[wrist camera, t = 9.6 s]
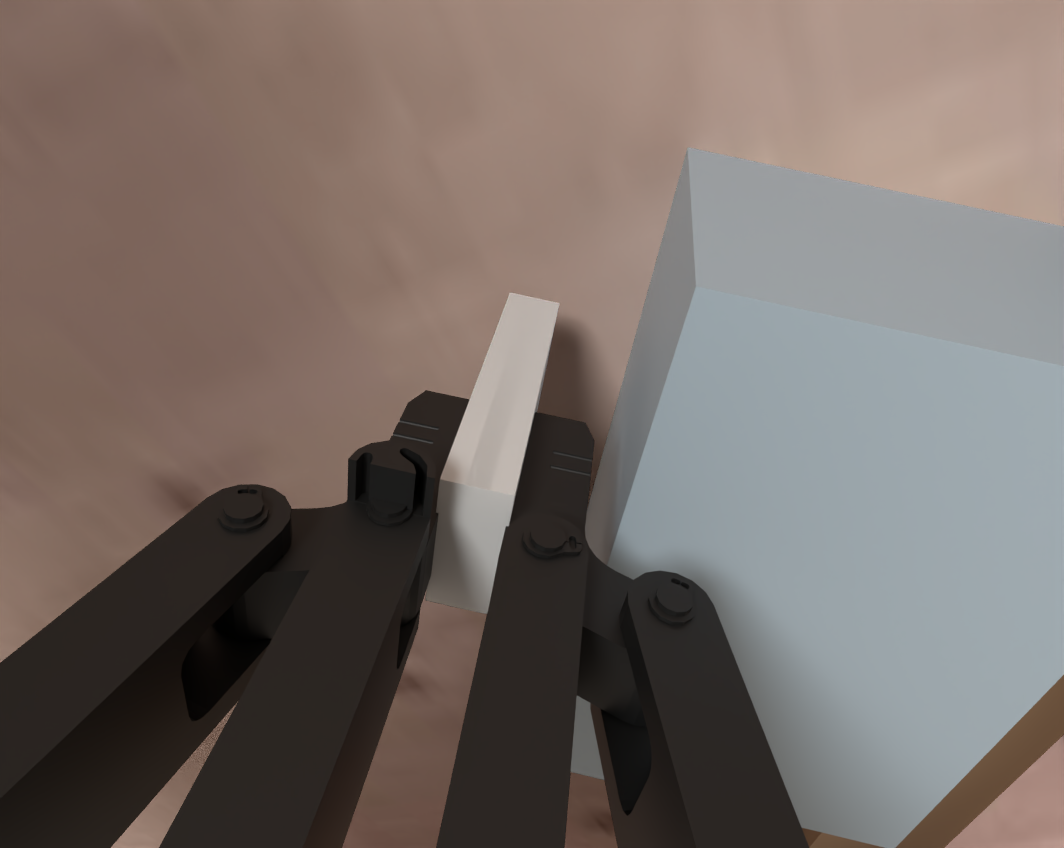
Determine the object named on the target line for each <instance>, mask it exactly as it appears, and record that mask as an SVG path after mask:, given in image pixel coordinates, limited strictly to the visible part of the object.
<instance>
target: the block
mask: <svg viewBox="0 0 1064 848" xmlns="http://www.w3.org/2000/svg"><path fill="white" fill-rule="evenodd" d="M585 536H586V540H587V543H588V545H589V547H590V549H591V550H592V552H593V553H594V554H595V556H596V557H597V558H598V559H600V560H601V561H602V562H603V563H604V564H605V565H607V566H608V567H610V568H612V569H613V570H615V571H617V572H619V573H621V574H623V575H625V576H627V577H629V578H631V579H633V580H634V579H636V578H637V577H639V576H640V575H642V574H644V573H646V572H653V571H659V570H661V571H667V572H672V573H677V574H679V575H681V576H684V577H686V578H688V579H690V580H692V581H693V582H695V583H696V584H697V585H698V586H699V587H701V588H702V589H703V590H704V591H705V592H706V593H707V595H708V596H709V598H710V600H711V601H712V603H713V604H714V606H715V609H716V612H717V614H718V617H719V619H720V622H721V624H722V627H723V629H724V632H725V634H726V637H727V639H728V642H729V645H730V647H731V650H732V652H733V655H734V657H735V660H736V662H737V665H738V667H739V670H740V672H741V675H742V678H743V680H744V683H745V685H746V688H747V690H748V693H749V695H750V698H751V700H752V703H753V706H754V708H755V711H756V713H757V716H758V718H759V721H760V723H761V726H762V728H763V731H764V733H765V736H766V739H767V741H768V744H769V746H770V749H771V751H772V754H773V756H774V759H775V761H776V764H777V766H778V769H779V772H780V774H781V777H782V779H783V782H784V784H785V787H786V789H787V792H788V794H789V797H790V800H791V802H792V805H793V807H794V810H795V812H796V815H797V817H798V820H799V822H800V825H801V827H802V828H805V829H810V830H814V831H818V832H822V833H826V834H830V835H834V836H839V837H843V838H847V839H851V840H855V841H859V842H864V843H868V844H872V845H876V846H880V847H884V848H896V847H897V845H898V844H899V843H900V842H901V841H902V840H903V839H904V838H905V837H906V836H907V835H908V834H909V833H910V832H911V831H912V830H913V829H914V828H915V827H916V826H917V825H918V824H919V823H920V822H921V821H922V820H923V819H924V818H925V817H926V816H927V815H928V814H929V813H930V812H931V811H932V810H933V808H934V807H935V806H936V805H937V804H938V803H939V802H940V801H941V800H942V799H943V798H944V797H945V796H946V795H947V794H948V793H949V792H950V791H951V790H952V789H953V788H954V787H955V786H956V785H957V784H958V783H959V782H960V781H961V780H962V779H963V778H964V777H965V776H966V775H967V774H968V773H969V771H970V770H971V769H972V768H973V767H974V766H975V765H976V764H977V763H978V762H979V761H980V760H981V759H982V758H983V757H984V756H985V755H986V754H987V753H988V752H989V751H990V750H991V749H992V748H993V747H994V746H995V745H996V744H997V743H998V742H999V741H1000V740H1001V739H1002V738H1003V737H1004V736H1005V734H1006V733H1007V732H1008V731H1009V730H1010V729H1011V728H1012V727H1013V726H1014V725H1015V724H1016V723H1017V722H1018V721H1019V720H1020V719H1021V718H1022V717H1023V716H1024V715H1025V714H1026V713H1027V712H1028V711H1029V710H1030V709H1031V708H1032V707H1033V706H1034V705H1035V704H1036V703H1037V702H1038V701H1039V700H1040V699H1041V697H1042V696H1043V695H1044V694H1045V693H1046V692H1047V691H1048V690H1049V689H1050V688H1051V687H1052V686H1053V685H1054V684H1055V683H1056V682H1057V681H1058V680H1059V679H1060V678H1061V677H1062V676H1063V675H1064V226H1059V225H1054V224H1050V223H1045V222H1040V221H1035V220H1031V219H1026V218H1021V217H1016V216H1012V215H1007V214H1002V213H997V212H993V211H988V210H983V209H978V208H974V207H969V206H964V205H959V204H955V203H950V202H945V201H940V200H936V199H931V198H926V197H921V196H917V195H912V194H907V193H902V192H898V191H893V190H888V189H883V188H879V187H874V186H869V185H864V184H860V183H855V182H850V181H845V180H840V179H836V178H831V177H826V176H821V175H817V174H812V173H807V172H802V171H798V170H793V169H788V168H783V167H779V166H774V165H769V164H764V163H760V162H755V161H750V160H745V159H741V158H736V157H731V156H726V155H722V154H717V153H712V152H707V151H703V150H698V149H693V148H687V152H686V156H685V159H684V163H683V166H682V170H681V174H680V177H679V181H678V184H677V188H676V192H675V195H674V199H673V202H672V206H671V210H670V213H669V217H668V220H667V224H666V228H665V231H664V235H663V238H662V242H661V246H660V249H659V253H658V256H657V260H656V264H655V267H654V271H653V274H652V278H651V282H650V285H649V289H648V292H647V296H646V299H645V303H644V307H643V310H642V314H641V317H640V321H639V325H638V328H637V332H636V335H635V339H634V343H633V346H632V350H631V353H630V357H629V361H628V364H627V368H626V371H625V375H624V379H623V382H622V386H621V389H620V393H619V397H618V400H617V404H616V407H615V411H614V415H613V418H612V422H611V425H610V429H609V433H608V436H607V440H606V443H605V447H604V451H603V454H602V458H601V461H600V465H599V469H598V472H597V476H596V479H595V483H594V487H593V490H592V494H591V497H590V501H589V505H588V508H587V515H586V524H585ZM571 772H573V773H577V774H581V775H585V776H589V777H594V778H598V779H602V780H604V775H603V770H602V765H601V760H600V755H599V750H598V745H597V740H596V735H595V730H594V725H593V720H592V715H591V710H590V702H588V701H586V700H584V699H582V698H581V697H579V696H577V699H576V711H575V723H574V735H573V748H572V760H571Z"/></svg>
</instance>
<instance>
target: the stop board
mask: <svg viewBox="0 0 1064 848" xmlns="http://www.w3.org/2000/svg"><path fill="white" fill-rule="evenodd" d="M1063 735H1064V675H1063V676H1062V677H1061V678H1060V679H1059V680H1058V681H1057V682H1056V683H1055V684H1054V685H1053V686H1052V687H1051V688H1050V689H1049V690H1048V691H1047V692H1046V693H1045V694H1044V695H1043V696H1042V697H1041V699H1040V700H1039V701H1038V702H1037V703H1036V704H1035V705H1034V706H1033V707H1032V708H1031V709H1030V710H1029V711H1028V712H1027V713H1026V714H1025V715H1024V716H1023V717H1022V718H1021V719H1020V720H1019V721H1018V722H1017V723H1016V724H1015V725H1014V726H1013V727H1012V728H1011V729H1010V730H1009V731H1008V732H1007V733H1006V734H1005V736H1004V737H1003V738H1002V739H1001V740H1000V741H999V742H998V743H997V744H996V745H995V746H994V747H993V748H992V749H991V750H990V751H989V752H988V753H987V754H986V755H985V756H984V757H983V758H982V759H981V760H980V761H979V762H978V763H977V764H976V765H975V766H974V767H973V768H972V769H971V770H970V771H969V773H968V774H967V775H966V776H965V777H964V778H963V779H962V780H961V781H960V782H959V783H958V784H957V785H956V786H955V787H954V788H953V789H952V790H951V791H950V792H949V793H948V794H947V795H946V796H945V797H944V798H943V799H942V800H941V801H940V802H939V803H938V804H937V805H936V806H935V807H934V808H933V810H932V811H931V812H930V813H929V814H928V815H927V816H926V817H925V818H924V819H923V820H922V821H921V822H920V823H919V824H918V825H917V826H916V827H915V828H914V829H913V830H912V831H911V832H910V833H909V834H908V835H907V836H906V837H905V838H904V839H903V840H902V841H901V842H900V843H899V844H898V845H897V847H896V848H944V847H945V846H946V845H948V844H949V843H950V842H951V841H952V840H953V839H954V838H955V837H956V836H957V835H958V834H959V833H960V832H961V831H962V830H963V829H964V828H965V827H967V826H968V825H969V824H970V823H971V822H972V821H973V820H974V819H975V818H976V817H977V816H978V815H979V814H980V813H981V812H982V811H983V810H985V809H986V808H987V807H988V806H989V805H990V804H991V803H992V802H993V801H994V800H995V799H996V798H997V797H998V796H999V795H1000V794H1001V793H1003V792H1004V791H1005V790H1006V789H1007V788H1008V787H1009V786H1010V785H1011V784H1012V783H1013V782H1014V781H1015V780H1016V779H1017V778H1018V777H1019V776H1020V775H1022V774H1023V773H1024V772H1025V771H1026V770H1027V769H1028V768H1029V767H1030V766H1031V765H1032V764H1033V763H1034V762H1035V761H1036V760H1037V759H1038V758H1040V757H1041V756H1042V755H1043V754H1044V753H1045V752H1046V751H1047V750H1048V749H1049V748H1050V747H1051V746H1052V745H1053V744H1054V743H1055V742H1056V741H1058V740H1059V739H1060V738H1061V737H1062V736H1063ZM802 830H803V833H804V835H805V838H806V840H807V843H808V845H809V848H884V847H880V846H876V845H872V844H868V843H864V842H859V841H855V840H851V839H847V838H843V837H839V836H834V835H830V834H826V833H822V832H818V831H814V830H810V829H805V828H802Z"/></svg>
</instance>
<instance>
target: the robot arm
mask: <svg viewBox="0 0 1064 848" xmlns="http://www.w3.org/2000/svg"><path fill="white" fill-rule="evenodd" d="M559 304H560V303H557V302H552V301H547V300H543V299H539V298H534V297H529V296H524V295H520V294H515V293H510V294H509V296H508V299H507V302H506V304H505V307H504V310H503V312H502V315H501V318H500V320H499V323H498V326H497V328H496V331H495V333H494V336H493V339H492V341H491V344H490V347H489V349H488V352H487V355H486V357H485V360H484V363H483V365H482V368H481V371H480V373H479V376H478V379H477V381H476V384H475V387H474V389H473V392H472V395H471V397H470V400H469V399H464V398H459V397H455V396H450V395H445V394H441V393H436V392H431V391H424V392H423V393H422V394H420V395H419V396H417V397H416V398H414V399H413V400H411V401H410V402H409V403H408V404H407V406H406V408H405V410H404V412H403V414H402V416H401V418H400V422H398V424H397V426H396V428H395V430H394V432H393V436H391V438H390V440H389V441H384V442H377V443H371V444H369V445H366V446H364V447H362V448H360V449H358V450H357V451H356V452H355V453H354V454H353V455H352V456H351V457H350V458H349V459H348V500H347V502H345V503H343V504H339V505H336V506H332V507H325V508H313V509H291V506H290V505H289V503H288V501H287V499H286V497H285V496H283V495H282V494H281V493H279V492H278V491H276V490H275V489H273V488H269V487H265V486H261V485H237V486H233V487H229V488H225V489H222V490H220V491H218V492H217V493H215V494H213V495H211V496H209V497H208V498H206V499H205V500H204V501H203V502H201V503H200V504H199V505H198V506H196V507H195V508H194V509H193V510H191V511H190V512H189V513H188V514H186V515H185V516H184V517H183V518H181V519H180V520H179V521H178V522H176V523H175V524H174V525H173V526H171V527H170V528H169V529H168V530H166V531H165V532H164V533H163V534H161V535H160V536H159V537H158V538H156V539H155V540H154V541H153V542H151V543H150V544H149V545H148V546H146V547H145V548H144V549H142V550H141V551H140V552H139V553H137V554H136V555H135V556H134V557H132V558H131V559H130V560H129V561H127V562H126V563H125V564H124V565H122V566H121V567H120V568H119V569H117V570H116V571H115V572H114V573H112V574H111V575H110V576H109V577H107V578H106V579H105V580H104V581H102V582H101V583H100V584H99V585H97V586H96V587H95V588H94V589H92V590H91V591H90V592H89V593H87V594H86V595H85V596H84V597H82V598H81V599H80V600H79V601H77V602H76V603H75V604H74V605H72V606H71V607H70V608H69V609H67V610H66V611H65V612H63V613H62V614H61V615H60V616H58V617H57V618H56V619H55V620H53V621H52V622H51V623H50V624H48V625H47V626H46V627H45V628H43V629H42V630H41V631H40V632H38V633H37V634H36V635H35V636H33V637H32V638H31V639H30V640H28V641H27V642H26V643H25V644H23V645H22V646H21V647H20V648H18V649H17V650H16V651H15V652H13V653H12V654H11V655H10V656H8V657H7V658H6V659H5V660H3V661H2V662H1V663H0V848H111V846H112V845H113V844H114V843H115V842H116V841H117V840H118V838H119V837H120V836H121V835H122V834H123V833H124V832H125V830H126V829H127V828H128V827H129V826H130V825H131V823H132V822H133V821H134V820H135V819H136V818H137V817H138V815H139V814H140V813H141V812H142V811H143V810H144V809H145V807H146V806H147V805H148V804H149V803H150V802H151V800H152V799H153V798H154V797H155V796H156V795H157V794H158V792H159V791H160V790H161V789H162V788H163V787H164V786H165V784H166V783H167V782H168V781H169V780H170V779H171V777H172V776H173V775H174V774H175V773H176V772H177V771H178V769H179V768H180V767H181V766H182V765H183V764H184V763H185V761H186V760H187V759H188V758H189V757H190V756H191V755H192V753H193V752H194V751H195V750H196V749H197V748H198V746H199V745H200V744H201V743H202V742H203V741H204V740H205V738H206V737H207V736H208V735H209V734H210V733H211V732H212V730H213V729H214V728H215V727H216V726H217V725H218V723H219V722H220V721H221V720H222V719H223V718H224V717H225V715H226V714H227V713H228V712H229V711H230V710H231V709H232V707H233V706H234V705H235V704H236V703H237V702H238V703H237V705H236V707H235V708H234V710H233V712H232V714H231V716H230V718H229V720H228V721H227V723H226V725H225V727H224V729H223V731H222V732H221V734H220V736H219V738H218V740H217V742H216V744H215V745H214V747H213V749H212V751H211V753H210V755H209V756H208V758H207V760H206V762H205V764H204V766H203V767H202V769H201V771H200V773H199V775H198V777H197V779H196V780H195V782H194V784H193V786H192V788H191V790H190V791H189V793H188V795H187V797H186V799H185V801H184V803H183V804H182V806H181V808H180V810H179V812H178V814H177V815H176V817H175V819H174V821H173V823H172V825H171V827H170V828H169V830H168V832H167V834H166V836H165V838H164V839H163V841H162V843H161V845H160V847H159V848H342V846H343V843H344V840H345V837H346V834H347V831H348V828H349V826H350V823H351V820H352V817H353V814H354V811H355V808H356V805H357V802H358V800H359V797H360V794H361V791H362V788H363V785H364V782H365V779H366V777H367V774H368V771H369V768H370V765H371V762H372V759H373V756H374V753H375V751H376V748H377V745H378V742H379V739H380V736H381V733H382V730H383V727H384V725H385V722H386V719H387V716H388V713H389V710H390V707H391V704H392V701H393V699H394V696H395V693H396V690H397V687H398V684H399V681H400V678H401V675H402V673H403V670H404V667H405V664H406V661H407V658H408V655H409V652H410V649H411V647H412V644H413V641H414V638H415V635H416V632H417V629H418V624H419V615H420V607H421V604H422V601H423V598H424V595H425V592H426V589H427V592H426V601H430V602H435V603H440V604H444V605H447V606H452V607H456V608H461V609H465V610H470V611H475V612H479V613H484V614H487V617H486V622H485V626H484V631H483V635H482V640H481V645H480V649H479V654H478V658H477V663H476V667H475V672H474V677H473V681H472V686H471V690H470V695H469V700H468V704H467V709H466V713H465V718H464V723H463V727H462V732H461V736H460V741H459V745H458V750H457V755H456V759H455V764H454V768H453V773H452V778H451V782H450V787H449V791H448V796H447V801H446V805H445V810H444V814H443V819H442V823H441V828H440V833H439V837H438V842H437V846H436V848H564V845H565V833H566V821H567V809H568V796H569V784H570V772H571V760H572V748H573V735H574V723H575V711H576V699H577V696H579V697H581V698H582V699H584V700H586V701H588V702H590V710H591V715H592V720H593V725H594V730H595V735H596V740H597V745H598V750H599V755H600V760H601V765H602V770H603V775H604V780H605V785H606V790H607V795H608V800H609V805H610V810H611V815H612V820H613V826H614V831H615V836H616V841H617V846H618V848H809V845H808V843H807V840H806V838H805V835H804V833H803V830H802V827H801V825H800V822H799V820H798V817H797V815H796V812H795V810H794V807H793V805H792V802H791V800H790V797H789V794H788V792H787V789H786V787H785V784H784V782H783V779H782V777H781V774H780V772H779V769H778V766H777V764H776V761H775V759H774V756H773V754H772V751H771V749H770V746H769V744H768V741H767V739H766V736H765V733H764V731H763V728H762V726H761V723H760V721H759V718H758V716H757V713H756V711H755V708H754V706H753V703H752V700H751V698H750V695H749V693H748V690H747V688H746V685H745V683H744V680H743V678H742V675H741V672H740V670H739V667H738V665H737V662H736V660H735V657H734V655H733V652H732V650H731V647H730V645H729V642H728V639H727V637H726V634H725V632H724V629H723V627H722V624H721V622H720V619H719V617H718V614H717V612H716V609H715V606H714V604H713V603H712V601H711V600H710V598H709V596H708V595H707V593H706V592H705V591H704V590H703V589H702V588H701V587H699V586H698V585H697V584H696V583H695V582H693V581H692V580H690V579H688V578H686V577H684V576H681V575H679V574H677V573H672V572H667V571H661V570H659V571H653V572H646V573H644V574H642V575H640V576H639V577H637V578H636V579H634V580H633V579H631V578H629V577H627V576H625V575H623V574H621V573H619V572H617V571H615V570H613V569H612V568H610V567H608V566H607V565H605V564H604V563H603V562H602V561H601V560H600V559H598V558H597V557H596V556H595V554H594V553H593V552H592V550H591V549H590V547H589V545H588V543H587V540H586V536H585V524H586V515H587V505H588V496H589V487H590V475H591V468H592V459H593V449H594V439H593V437H592V435H591V433H590V431H589V429H588V427H587V425H586V423H584V422H579V421H575V420H570V419H565V418H560V417H556V416H551V415H546V414H542V413H537V410H538V406H539V401H540V396H541V391H542V386H543V381H544V377H545V372H546V367H547V362H548V357H549V352H550V347H551V343H552V338H553V333H554V328H555V323H556V318H557V313H558V309H559ZM238 700H239V701H238Z"/></svg>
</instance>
